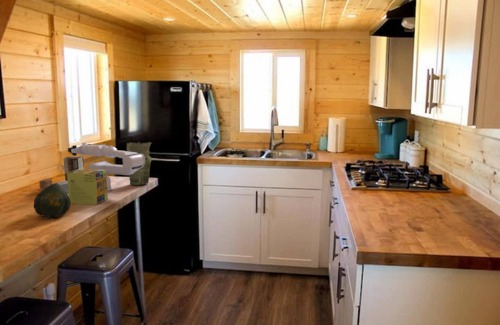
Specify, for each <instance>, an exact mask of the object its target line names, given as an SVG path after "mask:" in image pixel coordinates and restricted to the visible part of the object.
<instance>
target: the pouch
mask: <svg viewBox="0 0 500 325" xmlns="http://www.w3.org/2000/svg"><path fill="white" fill-rule="evenodd" d="M151 144H152V142H150V141H148V142H143V143H141V142H140V141H138V142H127V143H126V151H128V152H136V153H138V154H143V155H144V157H145V164H144V166H143V167H142V168H140V169H138V170H137V171H136V172H134V173H133V174H130V175H128V177H129V178H128V179H129V185H132V186H142V185H146V184H147V185H149V182H150V170H151V169H150V168H151V162H152V156H150V153H151V151H150V147H151Z"/></svg>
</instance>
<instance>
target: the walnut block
mask: <svg viewBox="0 0 500 325" xmlns="http://www.w3.org/2000/svg"><path fill="white" fill-rule="evenodd" d="M38 182H39V193H40V192H41V191H42V190H43V189H45V188H46V187H48V186H49V185H51V184H53V179H50V178H49V179H48V178H44V179H41V180H39V181H38Z"/></svg>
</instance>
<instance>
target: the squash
mask: <svg viewBox="0 0 500 325" xmlns="http://www.w3.org/2000/svg"><path fill="white" fill-rule="evenodd" d="M71 204H72V203H71V202H70V198H69V194H68V193H66V192H65V191H64V190H63V189H62V188H61V187H60V185H59V184H57V183H56V182H54V183H52V184H51V185H49V186H48V187H46V188H45V189H43V190H42V191H41V192H40V191H39V192H38V193H37V194H36V196H35V198H34V200H33V209H34V210H35V213H36V214H37V215H39V216H42V217H43V218H46V219H49V220H50V219H51V218H58V217H60V216H62V215H65V214H66V213H67V212H68V211H69V210H70V208H71Z"/></svg>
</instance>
